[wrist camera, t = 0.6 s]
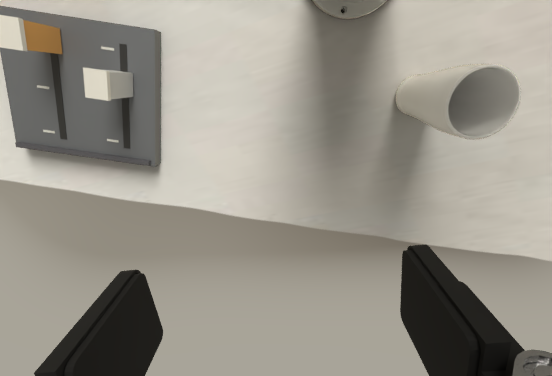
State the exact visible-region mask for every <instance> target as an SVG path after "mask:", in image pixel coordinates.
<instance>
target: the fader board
mask: <svg viewBox="0 0 552 376" xmlns="http://www.w3.org/2000/svg"><path fill="white" fill-rule="evenodd" d="M0 15H4V16H11V17H18V18H22V19H23V20H26V21H30V22H35V23H39V24H43V25H48V26H52V27H56V28H60V36H61V45H62V54H55V53H47V52H38V51H29V50H27V51H21V50H15V49H8V48H1V47H0V52H1V58H2V63H3V69H4V75H5V81H6V86H7V92H8V98H9V104H10V109H11V115H12V121H13V127H14V132H15V138H16V147H20V148H27V149H34V150H41V151H48V152H55V153H63V154H70V155H77V156H84V157H91V158H98V159H105V160H112V161H119V162H126V163H133V164H140V165H147V166H154V167H155V166H157V165H158V164H160V163H161V32H159V31H157V30H153V29H147V28H140V27H134V26H127V25H121V24H114V23H108V22H101V21H95V20H88V19H82V18H75V17H69V16H62V15H56V14H49V13H43V12H36V11H30V10H23V9H17V8H10V7H4V6H0ZM83 68H92V69H100V70H116V71H122V72H129V73H133V97H127V98H119V99H111V101H106V100H99V99H93V98H86V97H85V87H84V76H83Z"/></svg>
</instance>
